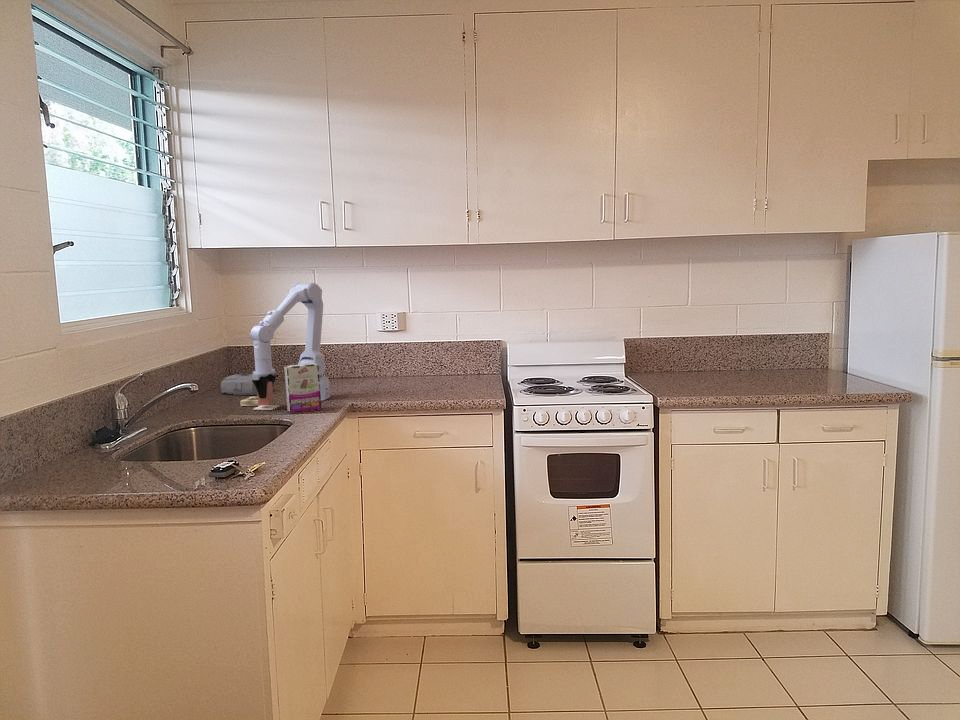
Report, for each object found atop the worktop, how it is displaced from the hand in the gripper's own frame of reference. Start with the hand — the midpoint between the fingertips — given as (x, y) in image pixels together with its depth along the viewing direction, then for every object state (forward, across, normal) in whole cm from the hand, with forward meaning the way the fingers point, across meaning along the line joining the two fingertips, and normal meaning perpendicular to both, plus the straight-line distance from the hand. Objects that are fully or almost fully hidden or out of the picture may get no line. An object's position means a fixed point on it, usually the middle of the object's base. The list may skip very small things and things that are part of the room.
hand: (265, 396), depth 258 cm
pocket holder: (+4, -8, -7) cm, 11 cm away
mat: (+4, 0, 0) cm, 4 cm away
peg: (+3, 0, 0) cm, 3 cm away
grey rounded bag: (+5, -33, -25) cm, 41 cm away
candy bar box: (+4, +3, +16) cm, 16 cm away
